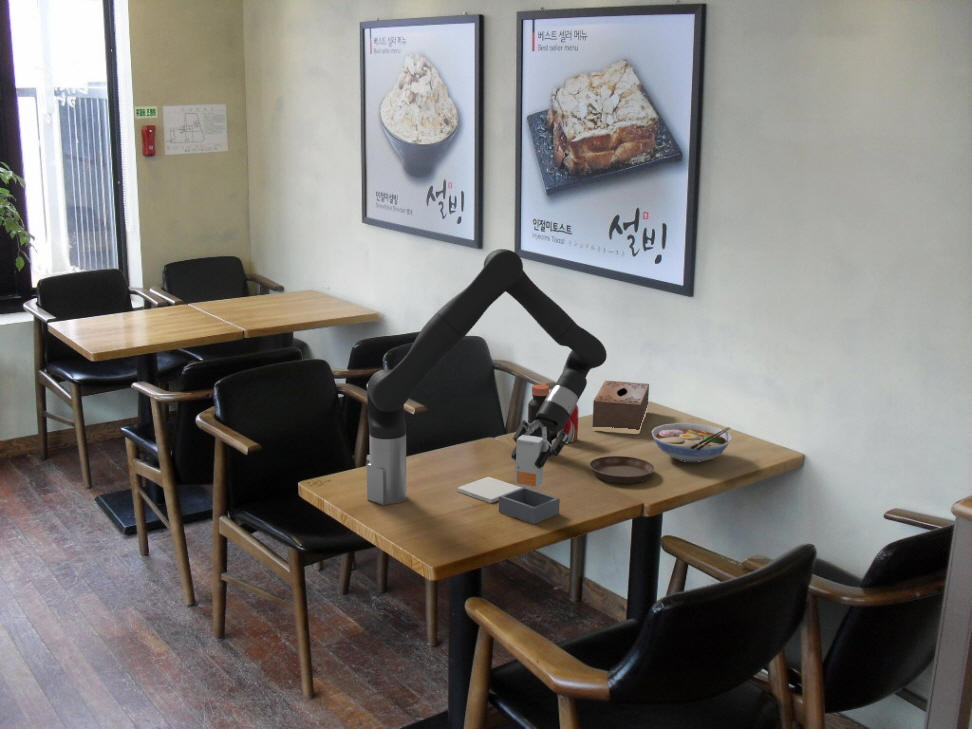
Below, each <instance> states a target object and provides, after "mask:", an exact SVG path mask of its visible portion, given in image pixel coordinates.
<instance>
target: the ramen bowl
mask: <svg viewBox="0 0 972 729" xmlns="http://www.w3.org/2000/svg"><path fill="white" fill-rule="evenodd" d="M730 429H731V427H726V428H725V429H722V428H718V427H715V426H711V425H708V424H702V423H700V424H699V423H695V422H694V423H687V422H677V423H675V422H674V423H666V424H661V425H659V426H655V427H654V428H653V429H652V430H651V431H650V432H651V434H652V438H653V440H654V442H655V443H656V445H657V447H658V448H659V450H661V451H662V453H664V454H665V455H667V456H669V457H671V458H673V459H677V460H678V459H679V460H678V461H680V460H682V461H681V462H683V461H686V462H685V463H687V462H698V461H701V462H703V461H708V460H712V459H714V458H716V457H718V456H720V455H721V454H722V453H723V452H724V450H726V448H727V447H728V445H729V444H730V443H731V441H732V440H733V437H732V435H731V433H730V432H728V430H730Z"/></svg>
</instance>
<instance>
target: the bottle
mask: <svg viewBox="0 0 972 729" xmlns="http://www.w3.org/2000/svg"><path fill="white" fill-rule="evenodd" d="M549 392H550V387H549V385H546V384H534V385H532V386H531V396H532V398H531V400H529V402H528V404H527V423H533V422H534V421H535V419H536V414H537V413H538V411H539V409H540V407H541V406H542V404H543V402H544V401H545V399H546V397H547V396H548V394H549ZM529 430H530V429H529Z"/></svg>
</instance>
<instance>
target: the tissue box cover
mask: <svg viewBox="0 0 972 729" xmlns="http://www.w3.org/2000/svg"><path fill="white" fill-rule="evenodd" d="M649 391H650V384H649V383H645V382H644V383H643V382H631V381H619V380H617V381H616V380H615V381H614V380H604V382H603V383H602V386H601V387H600V389H599V390H598V392H597V394H596V396H595V398H594V399H593V401H592V402H593V403H592V405H593V406H592V427H612V428H613V427H614V428H628V429H636V430H639V429H640V426H641V423H642V420H643V417H644V414H645V411H646V408H647V405H648V406H649V394H650V393H649Z"/></svg>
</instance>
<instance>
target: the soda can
mask: <svg viewBox="0 0 972 729" xmlns="http://www.w3.org/2000/svg"><path fill="white" fill-rule="evenodd" d="M562 431H564V432H565V433H566V435H567V436H568V437H569V438H568V440H567V442H572V443H574V442H575V441H576V440H578V434H579V406H578V403H577V404H576V407H575V409H574V411H573V412H572V414H571V416H570V418H569V419H568V421H567V423H566V425H565V426H564V428H563V430H561V431H560V432H562ZM556 439H557V438H555V439H554V440H556ZM573 441H574V442H573Z"/></svg>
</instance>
